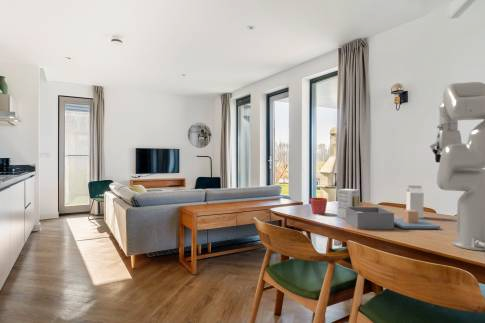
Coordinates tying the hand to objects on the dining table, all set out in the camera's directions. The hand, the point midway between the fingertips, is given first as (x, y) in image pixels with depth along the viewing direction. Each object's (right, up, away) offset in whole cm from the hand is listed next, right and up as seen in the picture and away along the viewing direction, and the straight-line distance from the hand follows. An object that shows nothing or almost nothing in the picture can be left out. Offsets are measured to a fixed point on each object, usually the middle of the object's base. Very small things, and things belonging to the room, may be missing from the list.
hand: (448, 162), depth 150 cm
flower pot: (-54, -33, +42) cm, 76 cm away
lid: (-14, -34, +9) cm, 37 cm away
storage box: (-36, -33, +9) cm, 50 cm away
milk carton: (+1, -33, +30) cm, 45 cm away
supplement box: (-39, -33, +29) cm, 59 cm away
